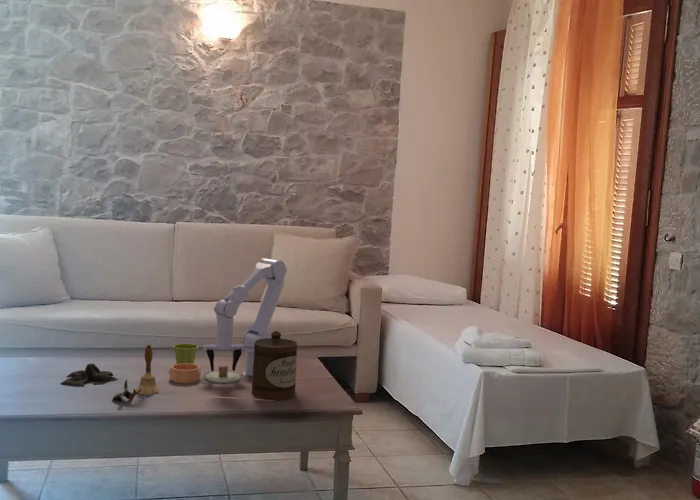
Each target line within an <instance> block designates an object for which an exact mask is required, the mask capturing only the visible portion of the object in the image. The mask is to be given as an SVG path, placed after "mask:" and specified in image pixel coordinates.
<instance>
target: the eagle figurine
mask: <svg viewBox="0 0 700 500" xmlns="http://www.w3.org/2000/svg"><path fill="white" fill-rule="evenodd" d="M141 390H142V388H141V389H140V390H139V391H138V392H137V393H136V388H135V389H133V391H132V392H130V391H129V390H128V379H127V378H126V379H125V382H124V385H123V391H122V392H119V393H117V394H115V395H114V396H113V397H112V399H118V398H123V397H125V398H126V399H127V400H129V404H132V402H133V400H134V398H135V397H136V396H137V395H139V394H138V393H139V392H140V391H141Z"/></svg>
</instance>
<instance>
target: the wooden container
mask: <svg viewBox="0 0 700 500" xmlns="http://www.w3.org/2000/svg"><path fill="white" fill-rule="evenodd" d="M270 333H271V337H270V338H265V339H259V340H256V341H255V344H254V362H253V375H252V377H251V378H252V379H251V382H252V384H251V394H252V395H253V396H256V397H257V398H259V399H261V400H266V401H283V400H288V399H289V400H290V399H292V398H293V397H295V395H296V381H297V380H296V379H297V358H298V357H297V354H298V353H297V352H298V351H297V349H298V343H297V342H296V341H295V340H292V339H287V338H282V337H281V336H282V333H281V332H280V331H279V330H274V331H272V332H270Z"/></svg>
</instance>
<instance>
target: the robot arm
mask: <svg viewBox="0 0 700 500" xmlns="http://www.w3.org/2000/svg"><path fill="white" fill-rule="evenodd" d="M287 271H288V268H287V267H286V264H285V262H284V261H282V260H279V259H272V258H267V257H263V258H261V259H260V260H259V261H258V262H257V263H255V268H254V270H253V271H252V272H251V273H250V274H249V276H248V277H247V278H246V279H245V280H244V281H243V283H241V285H236V286H235V285H234V286H233V288H232V290H231V291H230V292H229V293H228V294H227V295H226V296H224V298H223V299H220V300H219V301H218V302H216V304H215V306H214V307H213V310H214V313H215V315H216V338H215V339H216V342H215V344H214V343H212V344H203V345H202V347H203V352H206V354H207V358H208V360H209V364H210V371H211V372H215V371H214V369H215V364H214V362H215V352H218V351H219V352H220V351H221V352H223V351H224V352H225V351H226V352H227V351H228V352H230V351H232V366H231V367H232V371H233V372H235V371H236V367H237V364H238V361H239V359H240V357H241V356H242V352H244V351H245V363H244V364H245V365H244V371H243V374H242V375H246V376H250V377H251V376H252V375H253V362H254V344H255V341H256V340H259V339H265V338H272V336H271V333H272V332H270V330H269V326H270V324H271V321H272V318H273V316H274V312H275V310H276V307H277V304H278V302H279V298H280V296H281V293H282V292H283V291H282V290H283V288H284V283H285V276H286V274H287ZM263 279H264V280H265V281H266V282H267V288H266V290H265V293H264V296H263V298H262V302H261V304H260V307H259V309H258V311H257V315H256V318H255V319H254V320H255V321H254V323H253V324H252V325H250V326H249V327H247V329H246V332H245V333H244V334H243V336H242V338H241V344H234V343H233V335H234V316H236V315H237V313H238V309H239V307H240V306H241V305H242V303H244V301H245V300H246V299H247V298H248V297H249V292H250V291H251V290H252V289H253V288H254V287H255V286H256V285H257V284H258V283H259V282H260V281H261V280H263Z"/></svg>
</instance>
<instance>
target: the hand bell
mask: <svg viewBox="0 0 700 500" xmlns="http://www.w3.org/2000/svg"><path fill="white" fill-rule="evenodd" d="M144 359H145V360H144V361H145V373H144V374H142V375H141V377H140V382H139V385H138V386H137V387H136V388H135V390H136V393H137V392H138V391H139V390H140V389H141V388H142V390H141V391H140V392H139V393H138V394H137V395H142V396H149V395H151V396H152V395H157V394H160V393H159V392H160V388H159V387H158V385H157V382H156V376H155V375H154V374H153V373H152V365H151V364H152V360H153V349H152V345H151V344H147V345H146V347H145V350H144Z"/></svg>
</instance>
